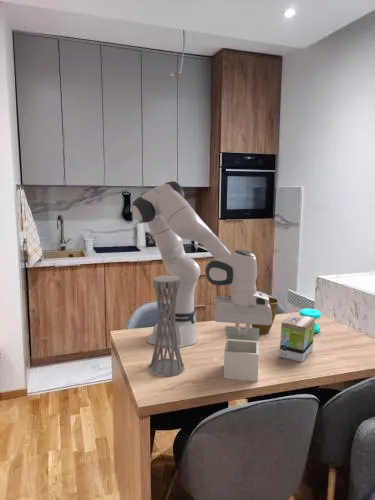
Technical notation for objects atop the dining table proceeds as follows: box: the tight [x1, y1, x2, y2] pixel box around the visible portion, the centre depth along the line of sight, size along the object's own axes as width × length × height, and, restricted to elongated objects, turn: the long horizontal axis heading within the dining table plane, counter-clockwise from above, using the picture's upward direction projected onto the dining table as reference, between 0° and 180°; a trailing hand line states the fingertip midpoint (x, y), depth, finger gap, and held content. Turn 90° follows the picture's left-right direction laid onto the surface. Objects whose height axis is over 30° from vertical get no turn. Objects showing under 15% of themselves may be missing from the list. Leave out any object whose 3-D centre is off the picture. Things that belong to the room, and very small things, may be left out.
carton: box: [223, 339, 260, 382], centre depth 141 cm, size 12×12×10 cm
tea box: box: [279, 313, 316, 363], centre depth 159 cm, size 15×10×15 cm, turn 148°
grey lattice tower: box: [148, 275, 185, 378], centre depth 143 cm, size 14×13×35 cm
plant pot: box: [250, 296, 279, 335], centre depth 184 cm, size 15×15×16 cm
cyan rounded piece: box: [299, 308, 322, 334], centre depth 187 cm, size 10×10×10 cm
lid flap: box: [224, 325, 260, 342], centre depth 142 cm, size 12×12×1 cm
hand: (242, 334), depth 135 cm, fingers closed
